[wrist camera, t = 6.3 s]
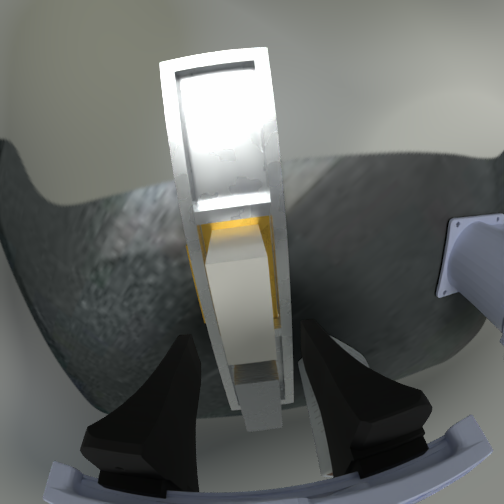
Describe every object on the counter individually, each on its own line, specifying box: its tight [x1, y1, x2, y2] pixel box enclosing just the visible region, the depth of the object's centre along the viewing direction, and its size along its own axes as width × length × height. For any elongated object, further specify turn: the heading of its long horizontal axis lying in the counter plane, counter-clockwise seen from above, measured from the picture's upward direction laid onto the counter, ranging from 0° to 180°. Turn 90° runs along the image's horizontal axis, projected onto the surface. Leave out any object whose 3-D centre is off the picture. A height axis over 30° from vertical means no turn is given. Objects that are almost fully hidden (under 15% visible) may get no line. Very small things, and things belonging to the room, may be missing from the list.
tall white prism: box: [205, 224, 277, 365], centre depth 17 cm, size 3×7×5 cm, turn 6°
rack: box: [160, 47, 294, 432], centre depth 17 cm, size 6×29×6 cm, turn 6°
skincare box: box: [298, 336, 369, 477], centre depth 19 cm, size 6×4×12 cm
